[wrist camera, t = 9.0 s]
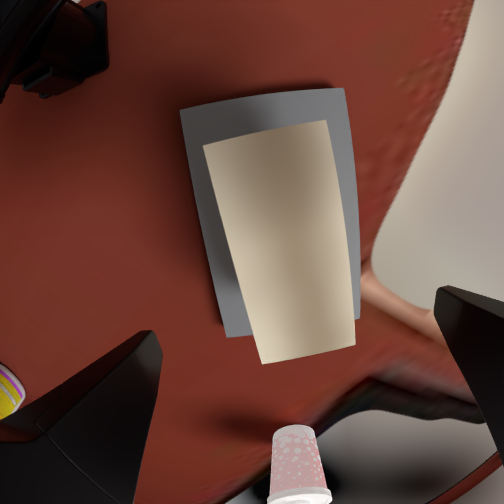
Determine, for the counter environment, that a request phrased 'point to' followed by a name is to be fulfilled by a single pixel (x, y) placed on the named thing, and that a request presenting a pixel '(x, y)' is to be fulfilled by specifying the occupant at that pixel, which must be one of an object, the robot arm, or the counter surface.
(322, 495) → the beverage cup
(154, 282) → the counter surface
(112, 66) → the counter surface
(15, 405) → the supplement bottle
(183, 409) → the counter surface
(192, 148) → the peg stand
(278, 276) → the shelf board
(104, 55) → the robot arm
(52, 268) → the counter surface
